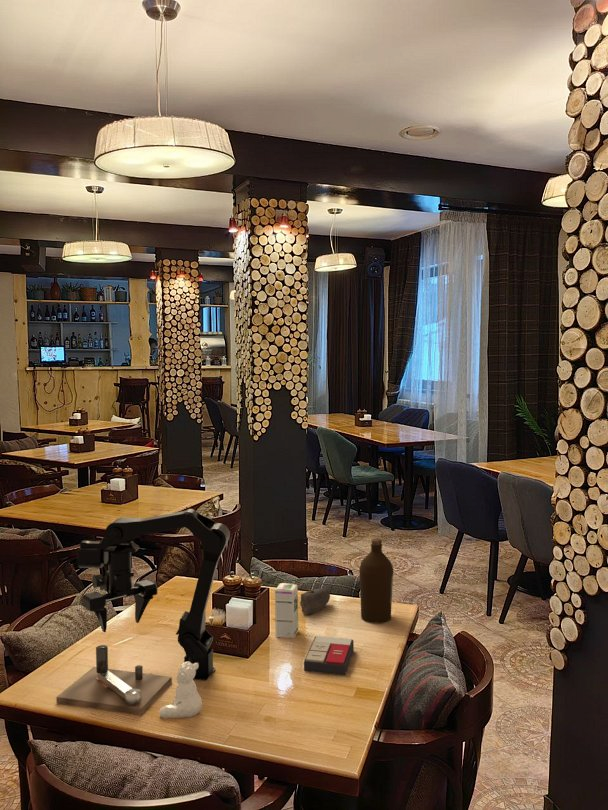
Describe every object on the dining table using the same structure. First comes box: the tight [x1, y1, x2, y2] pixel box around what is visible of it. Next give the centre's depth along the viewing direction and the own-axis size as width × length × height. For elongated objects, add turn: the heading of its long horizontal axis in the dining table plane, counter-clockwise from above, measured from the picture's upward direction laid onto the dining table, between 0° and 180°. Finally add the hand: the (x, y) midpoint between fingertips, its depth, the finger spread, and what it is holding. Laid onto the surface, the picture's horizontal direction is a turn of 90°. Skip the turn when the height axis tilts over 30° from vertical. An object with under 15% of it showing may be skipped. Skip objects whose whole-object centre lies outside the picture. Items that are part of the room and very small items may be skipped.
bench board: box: [55, 664, 173, 716], centre depth 163 cm, size 22×16×4 cm
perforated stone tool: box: [299, 587, 331, 615], centre depth 217 cm, size 15×5×7 cm, turn 141°
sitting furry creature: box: [158, 661, 203, 719], centre depth 154 cm, size 10×9×12 cm
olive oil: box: [358, 538, 394, 624], centre depth 210 cm, size 11×11×25 cm
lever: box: [95, 644, 141, 705], centre depth 161 cm, size 19×4×8 cm, turn 42°
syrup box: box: [274, 582, 299, 639], centre depth 197 cm, size 6×6×14 cm
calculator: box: [303, 635, 355, 676], centre depth 180 cm, size 11×4×15 cm
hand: (121, 627), depth 173 cm, fingers open, 9 cm apart
